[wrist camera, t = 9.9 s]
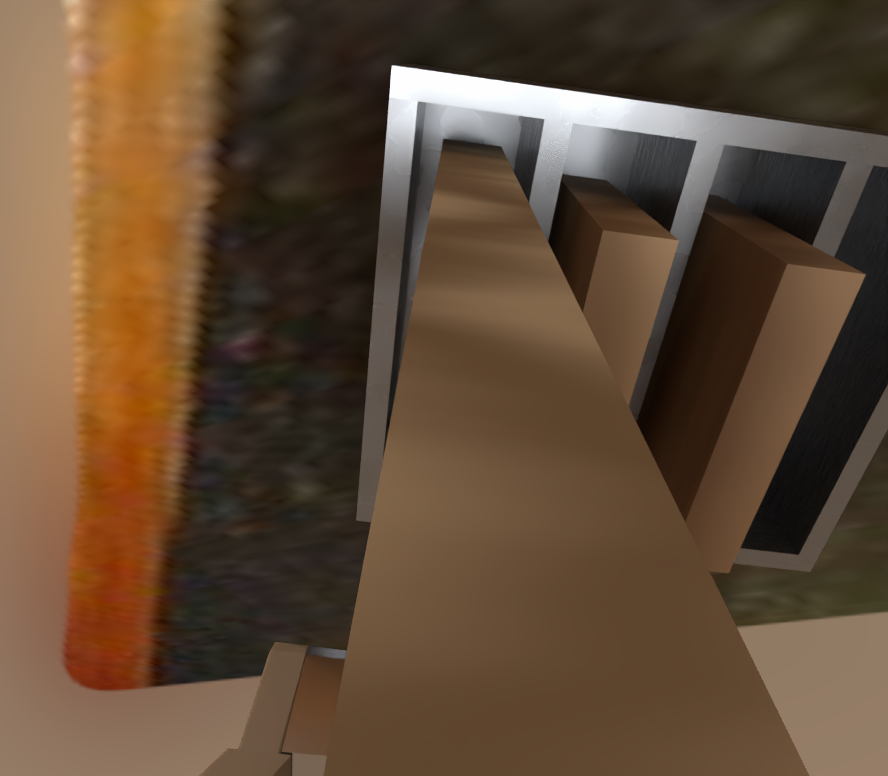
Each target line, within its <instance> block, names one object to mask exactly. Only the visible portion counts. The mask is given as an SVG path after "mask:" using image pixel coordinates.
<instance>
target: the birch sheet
mask: <svg viewBox="0 0 888 776" xmlns="http://www.w3.org/2000/svg"><path fill="white" fill-rule="evenodd" d="M323 776H809V774H808V772H807V770H806V768H805V766H804V764H803V762H802V760H801V758H800V756H799V754H798V752H797V750H796V748H795V746H794V744H793V742H792V740H791V738H790V735H789V733H788V731H787V729H786V727H785V725H784V723H783V721H782V719H781V717H780V715H779V713H778V711H777V709H776V707H775V705H774V703H773V701H772V699H771V697H770V695H769V693H768V690H767V689H766V686H765V684H764V682H763V680H762V678H761V676H760V674H759V672H758V670H757V668H756V666H755V664H754V662H753V660H752V658H751V656H750V654H749V652H748V650H747V648H746V645H745V643H744V642H743V640H742V637H741V636H740V633H739V631H738V629H737V627H736V625H735V623H734V621H733V619H732V617H731V615H730V613H729V611H728V609H727V607H726V605H725V603H724V601H723V598H722V596H721V594H720V592H719V590H718V588H717V586H716V584H715V582H714V580H713V578H712V576H711V574H710V572H709V570H708V568H707V566H706V564H705V562H704V560H703V558H702V556H701V554H700V552H699V549H698V547H697V545H696V543H695V541H694V539H693V537H692V535H691V533H690V531H689V529H688V527H687V525H686V523H685V521H684V519H683V517H682V515H681V513H680V511H679V509H678V507H677V505H676V502H675V500H674V498H673V496H672V494H671V492H670V490H669V488H668V486H667V484H666V482H665V480H664V478H663V476H662V474H661V472H660V470H659V468H658V466H657V464H656V462H655V460H654V458H653V456H652V453H651V451H650V449H649V447H648V445H647V443H646V441H645V439H644V437H643V435H642V433H641V431H640V429H639V427H638V425H637V423H636V421H635V419H634V417H633V415H632V413H631V411H630V409H629V406H628V404H627V402H626V400H625V398H624V396H623V394H622V392H621V390H620V388H619V386H618V384H617V382H616V380H615V378H614V376H613V374H612V372H611V370H610V368H609V366H608V364H607V362H606V360H605V357H604V355H603V353H602V351H601V349H600V347H599V345H598V343H597V341H596V339H595V337H594V335H593V333H592V331H591V329H590V327H589V325H588V323H587V321H586V319H585V317H584V315H583V313H582V310H581V308H580V306H579V304H578V302H577V300H576V298H575V296H574V294H573V292H572V290H571V288H570V286H569V284H568V282H567V280H566V278H565V276H564V274H563V272H562V270H561V268H560V266H559V264H558V261H557V259H556V257H555V255H554V253H553V251H552V249H551V247H550V245H549V243H548V241H547V239H546V237H545V235H544V233H543V231H542V229H541V227H540V225H539V223H538V221H537V219H536V217H535V214H534V212H533V210H532V208H531V206H530V204H529V202H528V200H527V198H526V196H525V194H524V192H523V190H522V188H521V186H520V184H519V182H518V180H517V178H516V176H515V174H514V172H513V170H512V167H511V165H510V163H509V161H508V159H507V157H506V155H505V153H504V151H503V149H502V147H501V146H494V145H486V144H479V143H472V142H465V141H457V140H450V139H443V145H442V150H441V155H440V161H439V166H438V171H437V176H436V182H435V187H434V192H433V198H432V203H431V208H430V213H429V219H428V224H427V229H426V235H425V240H424V245H423V251H422V256H421V261H420V266H419V272H418V277H417V282H416V288H415V293H414V298H413V304H412V309H411V314H410V319H409V325H408V330H407V335H406V341H405V346H404V351H403V356H402V362H401V367H400V372H399V378H398V383H397V388H396V394H395V399H394V404H393V409H392V415H391V420H390V425H389V431H388V436H387V441H386V447H385V452H384V457H383V462H382V468H381V473H380V478H379V484H378V489H377V494H376V500H375V505H374V510H373V515H372V521H371V526H370V531H369V537H368V542H367V547H366V552H365V558H364V563H363V568H362V574H361V579H360V584H359V590H358V595H357V600H356V605H355V611H354V616H353V621H352V627H351V632H350V637H349V643H348V648H347V653H346V658H345V664H344V669H343V674H342V680H341V685H340V690H339V695H338V701H337V706H336V711H335V717H334V722H333V727H332V733H331V738H330V743H329V748H328V754H327V759H326V764H325V770H324V775H323Z"/></svg>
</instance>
